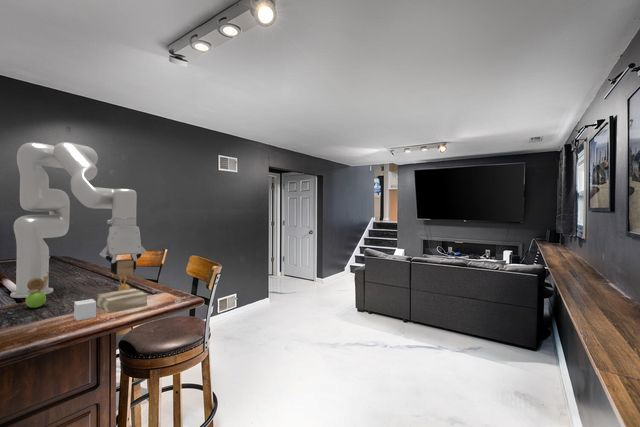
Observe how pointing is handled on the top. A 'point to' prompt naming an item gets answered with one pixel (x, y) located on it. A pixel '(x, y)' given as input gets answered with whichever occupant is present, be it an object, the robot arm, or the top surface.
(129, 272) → the walnut cube
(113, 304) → the birch block
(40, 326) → the top surface
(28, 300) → the snail figurine
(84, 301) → the grey cube
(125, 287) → the figurine
